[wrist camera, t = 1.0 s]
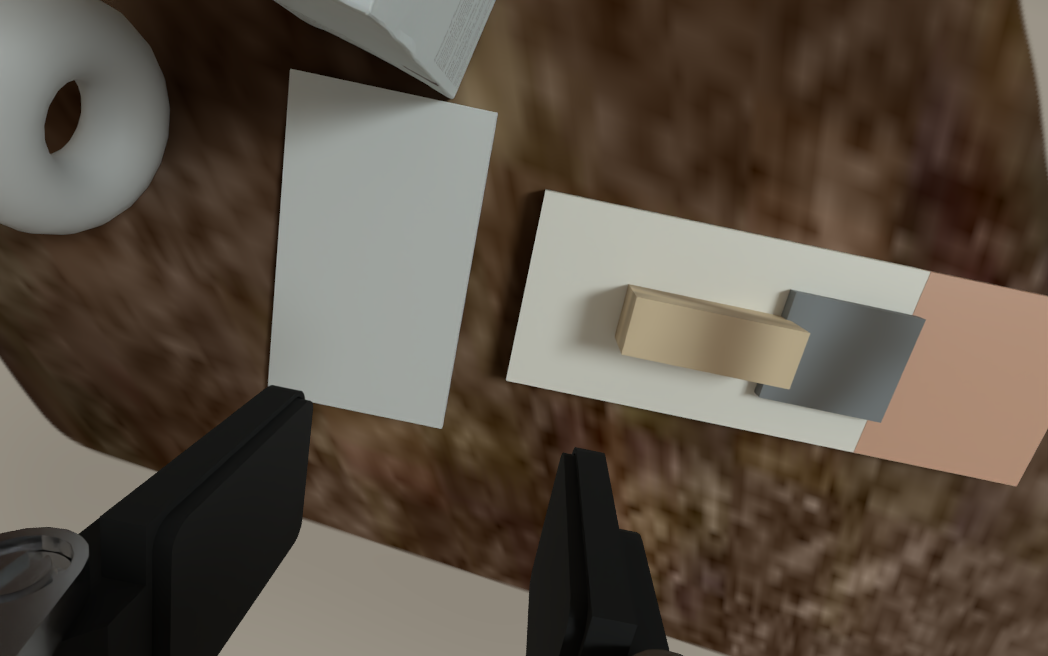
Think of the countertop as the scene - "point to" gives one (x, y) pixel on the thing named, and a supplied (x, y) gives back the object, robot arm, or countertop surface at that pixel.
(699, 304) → the turner
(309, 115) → the mat
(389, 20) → the skincare box
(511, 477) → the countertop surface
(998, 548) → the countertop surface
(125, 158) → the donut
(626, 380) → the board
